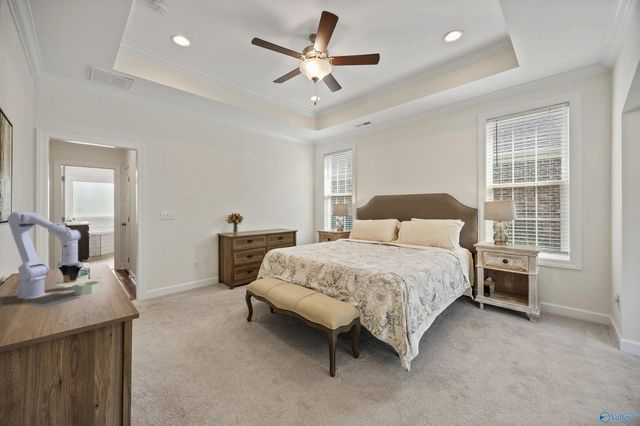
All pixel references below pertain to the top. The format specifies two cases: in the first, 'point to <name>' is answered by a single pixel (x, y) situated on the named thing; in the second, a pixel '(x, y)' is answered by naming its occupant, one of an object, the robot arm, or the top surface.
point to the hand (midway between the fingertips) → (70, 279)
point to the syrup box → (84, 272)
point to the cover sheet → (60, 283)
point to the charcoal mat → (51, 300)
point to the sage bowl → (88, 288)
